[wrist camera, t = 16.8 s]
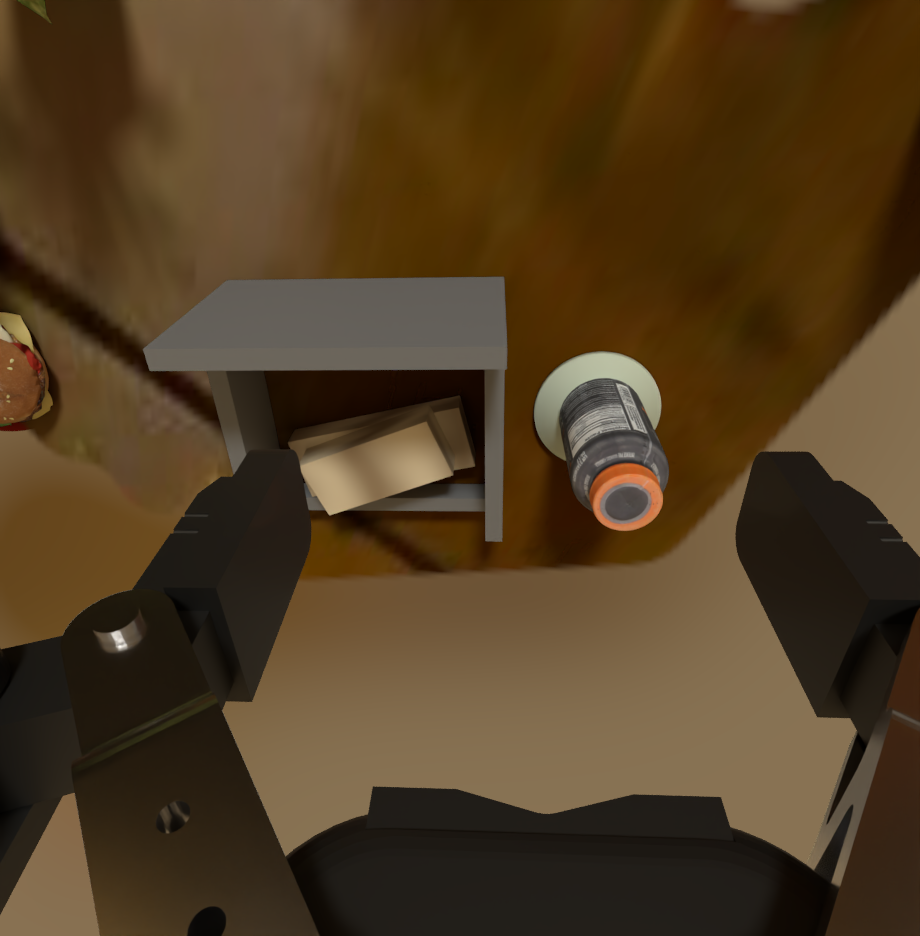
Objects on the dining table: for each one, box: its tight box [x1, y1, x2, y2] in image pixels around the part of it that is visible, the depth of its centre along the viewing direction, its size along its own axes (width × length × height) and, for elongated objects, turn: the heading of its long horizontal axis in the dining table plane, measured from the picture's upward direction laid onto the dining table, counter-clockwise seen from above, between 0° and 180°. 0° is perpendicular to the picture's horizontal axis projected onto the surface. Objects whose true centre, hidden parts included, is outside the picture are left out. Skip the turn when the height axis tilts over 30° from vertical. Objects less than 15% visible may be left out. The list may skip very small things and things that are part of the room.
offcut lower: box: [288, 396, 476, 497], centre depth 48 cm, size 13×5×2 cm, turn 104°
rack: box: [143, 277, 507, 541], centre depth 41 cm, size 18×18×12 cm
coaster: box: [534, 351, 661, 461], centre depth 46 cm, size 9×9×1 cm
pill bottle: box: [559, 378, 669, 531], centre depth 41 cm, size 6×6×11 cm
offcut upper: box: [300, 405, 455, 516], centre depth 46 cm, size 10×5×2 cm, turn 112°
